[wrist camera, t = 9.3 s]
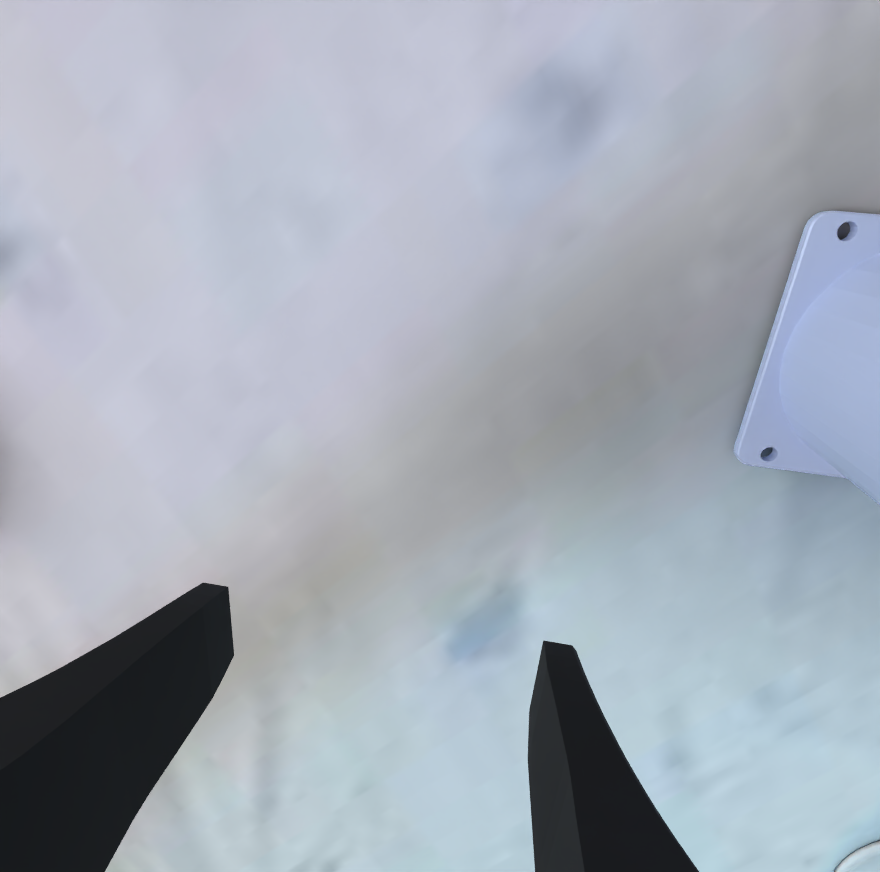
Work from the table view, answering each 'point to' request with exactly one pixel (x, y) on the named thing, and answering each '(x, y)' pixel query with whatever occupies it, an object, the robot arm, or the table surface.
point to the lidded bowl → (862, 860)
